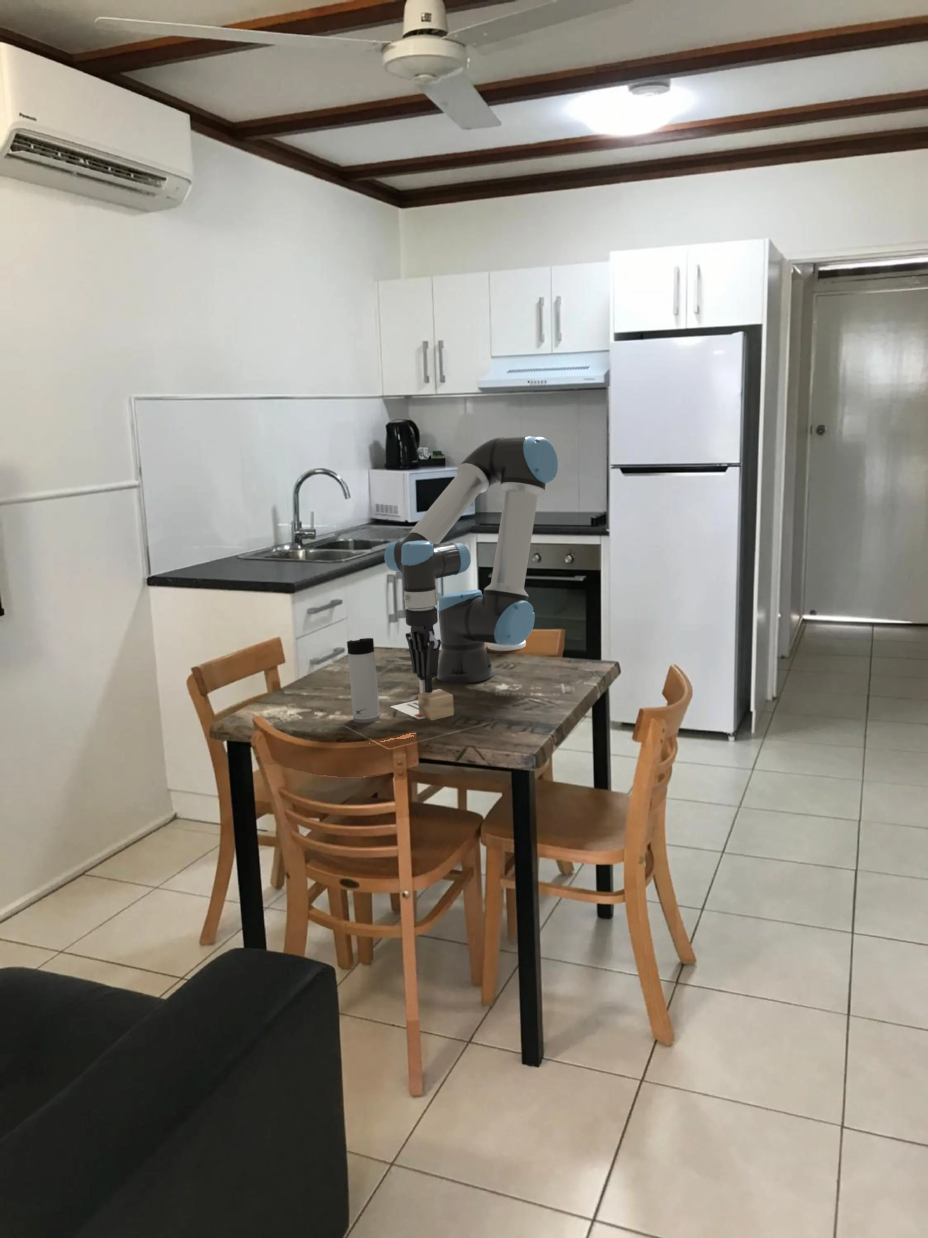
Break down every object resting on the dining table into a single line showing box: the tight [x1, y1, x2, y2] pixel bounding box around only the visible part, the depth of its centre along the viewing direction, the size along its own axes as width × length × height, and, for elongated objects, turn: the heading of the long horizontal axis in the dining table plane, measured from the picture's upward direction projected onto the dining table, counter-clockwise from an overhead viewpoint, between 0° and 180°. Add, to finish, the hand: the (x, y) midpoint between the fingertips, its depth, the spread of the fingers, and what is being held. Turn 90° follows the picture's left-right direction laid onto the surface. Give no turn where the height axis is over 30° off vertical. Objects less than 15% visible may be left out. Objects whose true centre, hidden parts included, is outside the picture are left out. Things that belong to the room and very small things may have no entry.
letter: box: [390, 699, 456, 720], centre depth 241 cm, size 14×10×1 cm
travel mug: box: [346, 637, 381, 724], centre depth 234 cm, size 6×7×20 cm
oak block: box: [417, 688, 455, 721], centre depth 235 cm, size 6×6×5 cm
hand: (427, 704), depth 238 cm, fingers closed
